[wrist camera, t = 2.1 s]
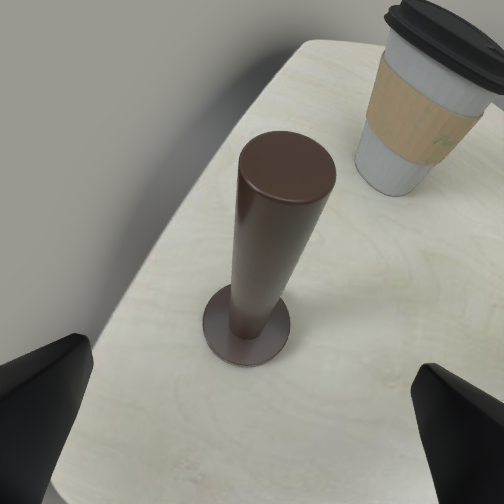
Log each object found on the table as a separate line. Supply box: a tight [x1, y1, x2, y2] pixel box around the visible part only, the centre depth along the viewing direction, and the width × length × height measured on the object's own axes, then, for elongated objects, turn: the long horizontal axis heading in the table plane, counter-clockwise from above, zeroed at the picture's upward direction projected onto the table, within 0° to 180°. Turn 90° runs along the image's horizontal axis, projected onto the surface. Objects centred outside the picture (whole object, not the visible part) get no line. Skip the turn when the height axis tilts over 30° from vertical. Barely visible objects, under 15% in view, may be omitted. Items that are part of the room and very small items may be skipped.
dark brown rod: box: [203, 131, 336, 367], centre depth 12 cm, size 5×5×14 cm
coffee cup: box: [355, 0, 504, 196], centre depth 19 cm, size 9×9×15 cm
